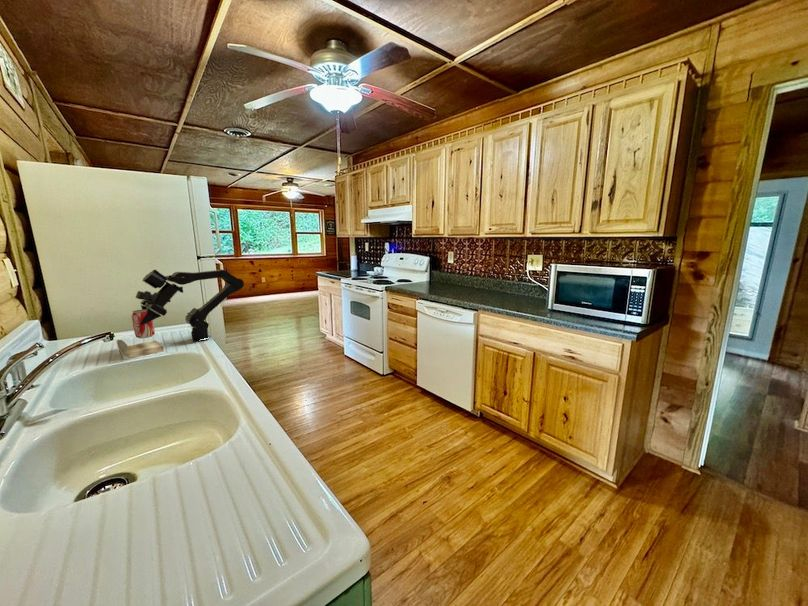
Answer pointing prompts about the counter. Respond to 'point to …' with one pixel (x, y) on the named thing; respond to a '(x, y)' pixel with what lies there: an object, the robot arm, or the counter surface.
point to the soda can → (139, 329)
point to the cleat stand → (138, 349)
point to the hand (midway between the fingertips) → (139, 323)
